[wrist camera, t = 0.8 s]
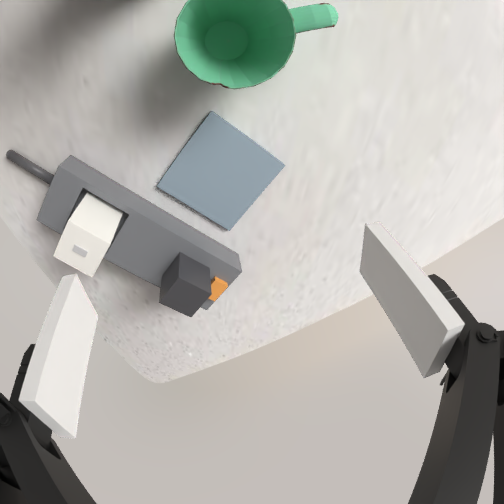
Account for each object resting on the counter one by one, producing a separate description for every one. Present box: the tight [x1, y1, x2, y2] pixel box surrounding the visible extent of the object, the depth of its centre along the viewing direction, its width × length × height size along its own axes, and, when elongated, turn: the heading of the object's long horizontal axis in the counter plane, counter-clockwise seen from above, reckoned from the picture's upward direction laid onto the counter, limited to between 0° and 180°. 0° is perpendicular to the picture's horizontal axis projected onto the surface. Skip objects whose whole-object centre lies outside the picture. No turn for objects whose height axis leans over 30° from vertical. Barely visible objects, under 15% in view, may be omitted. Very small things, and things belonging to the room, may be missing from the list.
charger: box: [53, 191, 124, 277], centre depth 33 cm, size 5×5×8 cm
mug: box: [174, 0, 338, 89], centre depth 25 cm, size 15×10×10 cm
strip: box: [6, 150, 242, 317], centre depth 35 cm, size 35×8×9 cm, turn 51°
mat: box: [157, 111, 285, 231], centre depth 38 cm, size 11×11×1 cm
